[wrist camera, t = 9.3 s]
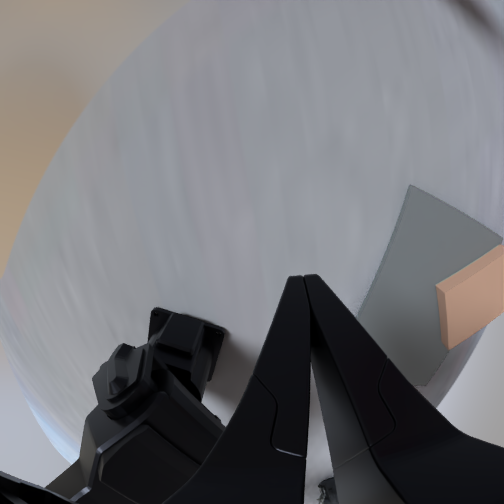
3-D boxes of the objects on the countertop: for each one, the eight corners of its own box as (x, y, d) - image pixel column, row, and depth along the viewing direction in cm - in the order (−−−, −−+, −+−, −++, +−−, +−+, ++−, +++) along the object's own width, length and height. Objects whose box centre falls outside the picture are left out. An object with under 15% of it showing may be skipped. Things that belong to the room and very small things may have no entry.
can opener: (316, 472, 31) (319, 501, 26) (360, 465, 31) (366, 492, 25) (310, 504, 37) (312, 525, 31) (344, 499, 36) (347, 520, 31)
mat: (423, 382, 25) (425, 385, 24) (327, 371, 24) (327, 375, 23) (499, 236, 19) (503, 238, 18) (409, 184, 19) (413, 185, 18)
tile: (448, 350, 20) (509, 307, 19) (444, 293, 19) (510, 249, 17) (440, 340, 22) (500, 300, 20) (434, 284, 20) (498, 243, 19)
